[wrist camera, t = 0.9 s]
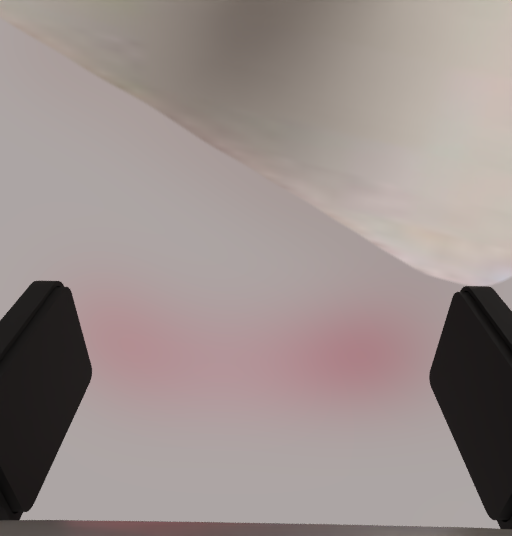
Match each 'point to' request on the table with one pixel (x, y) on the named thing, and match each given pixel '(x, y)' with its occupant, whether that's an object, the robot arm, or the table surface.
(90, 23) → the table surface
